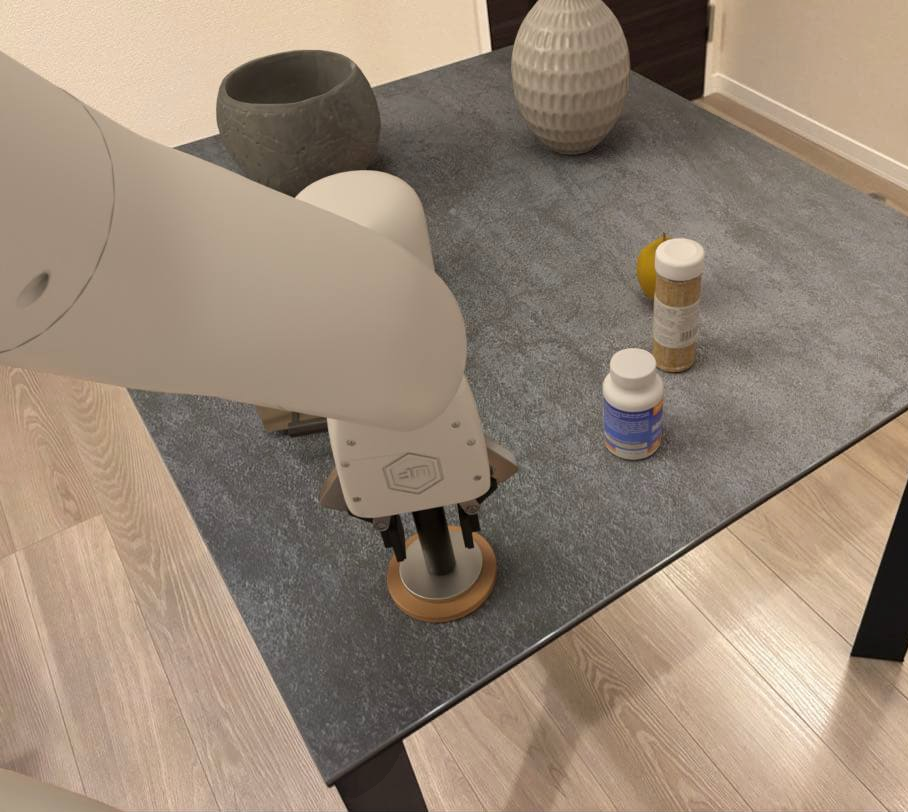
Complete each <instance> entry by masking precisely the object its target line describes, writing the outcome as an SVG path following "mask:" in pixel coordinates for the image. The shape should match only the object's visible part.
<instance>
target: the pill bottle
mask: <svg viewBox="0 0 908 812" xmlns="http://www.w3.org/2000/svg"><path fill="white" fill-rule="evenodd" d="M664 389H665V387H664V382H663V379H662V377H661V376H660V375H659V373H658V369H657V366H656V360H655V358H654V356H653V355H652V352H649V351H648V350H645V349H643V348H639V347H638V348H637V347H628V348H624V349H621V350H619V351H617V352H616V353H614V354H613V356H612V357H611V358H610V362H609V372H608V374H607V375H606V376H605V378H604V380H603V382H602V409H603V411H602V412H603V441H604V445H605V447H606V448H607V450H608V451H609V452H610V453H612V454H613V455H614V456H616V457H619V458H621V459H624V460H630V461H631V460H632V461H635V460H636V461H637V460H642V459H643V460H644V459H646V458H648V457H650V456H652V455H653V454H654V453H655V452H656V451H658V448H659V447H660V445H661V442H662V435H663V434H662V433H663V431H662V429H663V415H664V414H663V413H664V412H663V411H664V393H665V390H664Z"/></svg>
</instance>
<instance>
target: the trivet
mask: <svg viewBox="0 0 908 812" xmlns="http://www.w3.org/2000/svg"><path fill="white" fill-rule="evenodd" d="M448 529H449V530H453V531H458V532H461V533H462V531H461V526H459V525H450V524H449V525H448ZM472 536H473V540H474V541H475V542H476V543H477V545H478V546H479V548H480V550H481V553H482V557H483V570H482V574H481V577H480V579H479V580H478V582H477V584H476V585H475V586H474V587H473V588H472V589H471V590H470V591H469V592H468V593H467V594H465V595H464V596H462V597H460V598H458V599H456V600H453V601H450V602H445V603H429V602H424V601H421V600H419V599H417V598H415V597H414V596H412V595H411V594H410V593H409V592H408V591H407V590H406V589H405V587H404V585H403V583H402V580H401V577H400V562H397V560H396V556H395V553H394V554H393V555H392V557H391V558H390V562H389V564H388V566H387V572H386V582H387V583H386V584H387V588H388V591H389V595H390V597H391V599H392V601H393V603H394V604H395V605H396V607H397V608H398V609H399V610H400V611H401V612H403V613H404V614H406V615H407V616H408V617H410V618H412V619H414V620H418V621H421V622H426V623H435V624H436V623H447V622H452V621H457V620H459V619H461V618H465V616H467V615H470V614H472V613H473V612H474V611H476V610H477V609H478V608H479V607H481V606H482V604H483V603H485V601H486V600H487V599H488V598H489V597H490V595H491V593H492V592H493V589H494V587H495V585H496V582H497V578H498V564H497V558H496V555H495V552H494V550H493V548H492V546H491V544H490V543H489V542H488V541H487V539H485V538H484V537H483V536H482V535H480V533H478V532H472ZM418 538H419V537H418V534H417V533H415V534H413V535H412V536H410V537H409V538H407V539H405V546H406V549H407V548H408V547H409V546H410V545H411V544H412V543H413V542H414V541H415V540H417V539H418Z"/></svg>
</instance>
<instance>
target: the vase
mask: <svg viewBox="0 0 908 812" xmlns="http://www.w3.org/2000/svg"><path fill="white" fill-rule="evenodd" d="M510 62H511V63H510V64H511V65H510V76H511V86H512V92H513V95H514V98H515V103H516V106H517V108H518V110H519V113H520V116H521V117H522V119H523V121H524V123H526V125H527V127H528V128H529V129H530V130H531V132H532V133H533V134H534V135H535V137H537V139H538V140H539V141H540V142H542V144H544V145H545V146H547V148H549V149H550V150H551V151H552V152H555V153H557V154H561V155H565V156H576V155H582V154H586V153H589V152H590V151H592V150H594V149H595V148H596V147H597V146H598V145H599V144H600V143H601V142H602V141H603V140H604V139H605V138H606V137H607V136H608V135H609V133H610V132H611V131H612V130H613V128H614V127H615V125H616V124H617V122H618V120H619V118H620V117H621V114H622V113H623V110H624V108H625V104H626V102H627V98H628V95H629V90H630V84H631V59H630V49H629V45H628V42H627V38H626V36H625V33H624V31H623V28H622V26H621V24H620V22H619V20H618V18H617V17H616V15H615V14H614V12H613V11H612V10H611V9H610V8H609V6H608V5H607V4H606V3H605V2H604V1H603V0H537V1H536V3H535V4H534V5H533V6H532V8H531V9H530V10H529V11H528V12H527V14H526V16H525V17H524V19H523V20H522V22H521V24H520V26H519V29H518V31H517V34H516V36H515V40H514V43H513V48H512V55H511V61H510Z"/></svg>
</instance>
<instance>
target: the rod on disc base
mask: <svg viewBox="0 0 908 812" xmlns="http://www.w3.org/2000/svg"><path fill="white" fill-rule="evenodd" d="M411 515H412V519H413V522H414V527H415V530H416V534H418V537H419V538H418V539H417V540H415V541H414V542H413V543H412V544H411V545H410V546H409V547H408V548H407V549H406V559H404V561H402V562H400V577H401V580H402V583H403V585H404V587H405V589H406V590H407V591H408V592H409V593H410V594H411V595H412V596H414V597H415V598H417V599H419V600H421V601H424V602H429V603H445V602H450V601H453V600H456V599H458V598H460V597H462V596H464V595H465V594H467V593H468V592H469V591H470V590H471V589H472V588H473V587H474V586H475V585H476V584H477V582H478V580H479V579H480V577H481V574H482V570H483V557H482V553H481V550H480V548H479V546H478V545H477V543H476V542H475V541H474V540H473V542H474V548H472V549H468V548H465V545H464V540H463V535H462V533H461V532H458V531H453V530H449V529H448V519H447V515H446V512H445V507H444V506H440V507H435V508H430V509H424V510H419V511H413V512H411Z"/></svg>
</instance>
